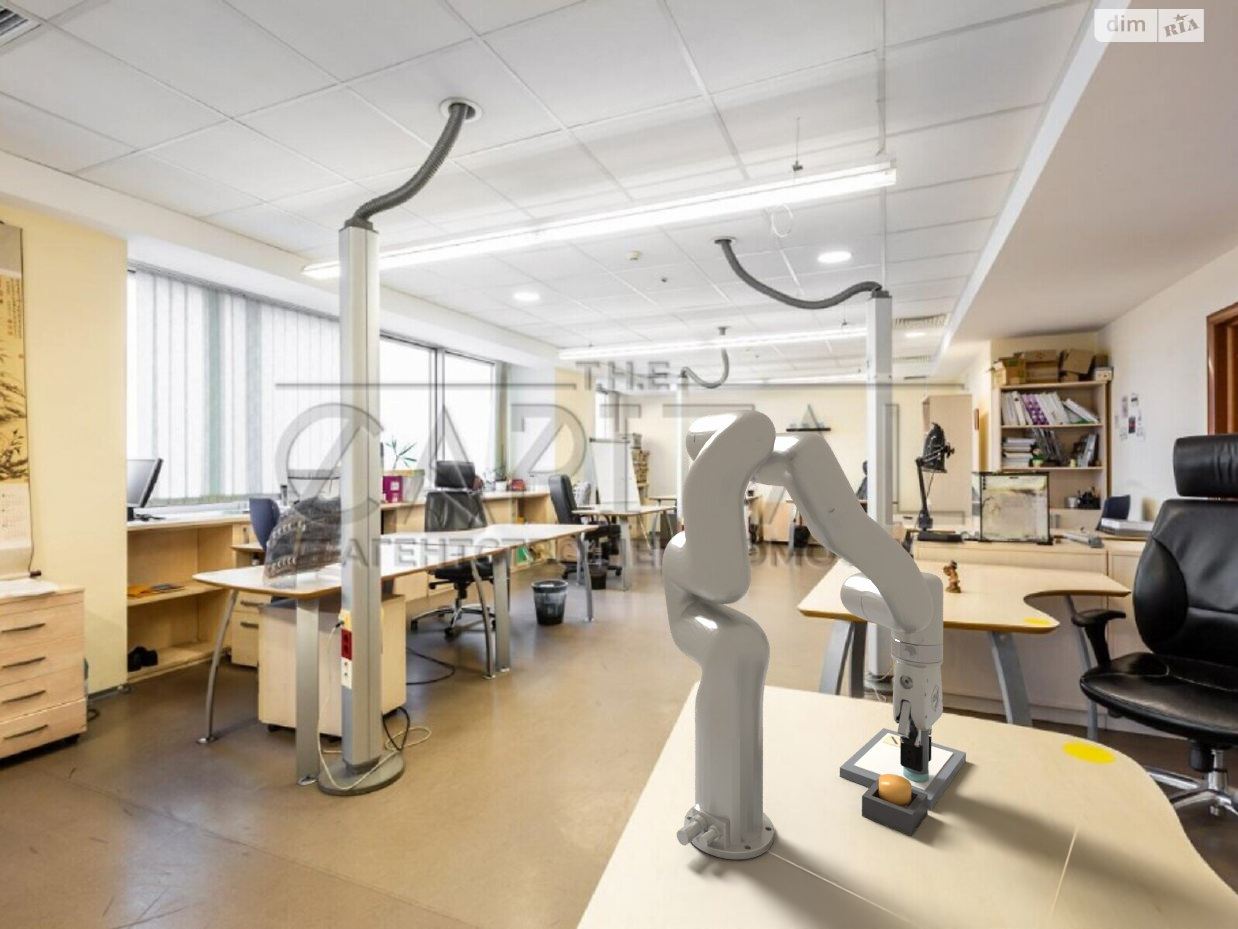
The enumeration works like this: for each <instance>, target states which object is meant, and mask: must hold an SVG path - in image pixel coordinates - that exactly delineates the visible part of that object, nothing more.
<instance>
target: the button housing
mask: <svg viewBox="0 0 1238 929" xmlns="http://www.w3.org/2000/svg"><path fill="white" fill-rule="evenodd" d="M928 810H929V809H928V794H925V793H922V792H919V791H916V790H914V789H911V804H910V805H908V806H898V805H895V804H892V803H890V802H887V801H884V800H882V799H881V798H880V797H879V778H878V779H877V780H876V782H875V783H874V784H873V785H872V786H871V787H868V789H867V790H866V791H864V793H863V794H862V795H861V816H862V817H864V818H866V819H868V820H871V821H874V822H876V823H878V824H882V825H883V826H887V827H889V828H891V829H893V830H897V831H899V832H901V833H903V834H905V835H909V836H910V837H913V835H914V834H915V833H916V831H917V830H918V829H919V827H920V826H921V824H922V823H923V822H924V820H925V819H926V818H927V816H928Z"/></svg>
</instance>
